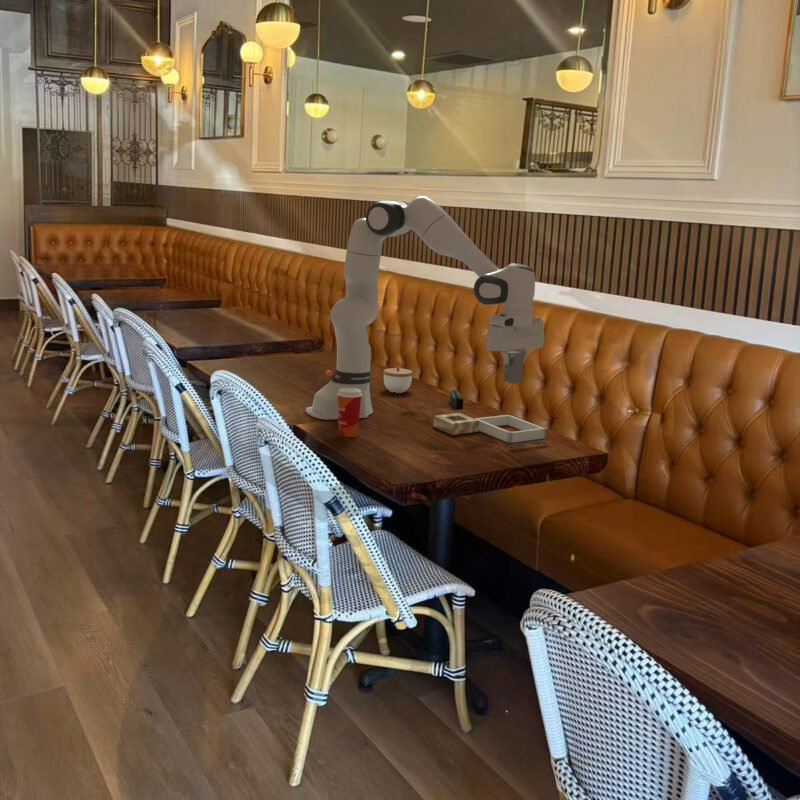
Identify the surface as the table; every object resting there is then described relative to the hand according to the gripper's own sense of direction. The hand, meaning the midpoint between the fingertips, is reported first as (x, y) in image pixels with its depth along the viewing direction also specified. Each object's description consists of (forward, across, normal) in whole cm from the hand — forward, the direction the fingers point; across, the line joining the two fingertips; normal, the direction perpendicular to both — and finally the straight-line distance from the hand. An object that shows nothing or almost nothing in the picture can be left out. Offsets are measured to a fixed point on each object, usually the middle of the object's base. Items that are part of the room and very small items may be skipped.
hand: (514, 363), depth 265 cm
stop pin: (+6, 0, 0) cm, 6 cm away
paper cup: (+23, +45, -21) cm, 55 cm away
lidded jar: (+23, -1, -67) cm, 71 cm away
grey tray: (+23, 0, 0) cm, 23 cm away
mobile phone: (+24, -9, -40) cm, 47 cm away
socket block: (+23, +13, -10) cm, 28 cm away
